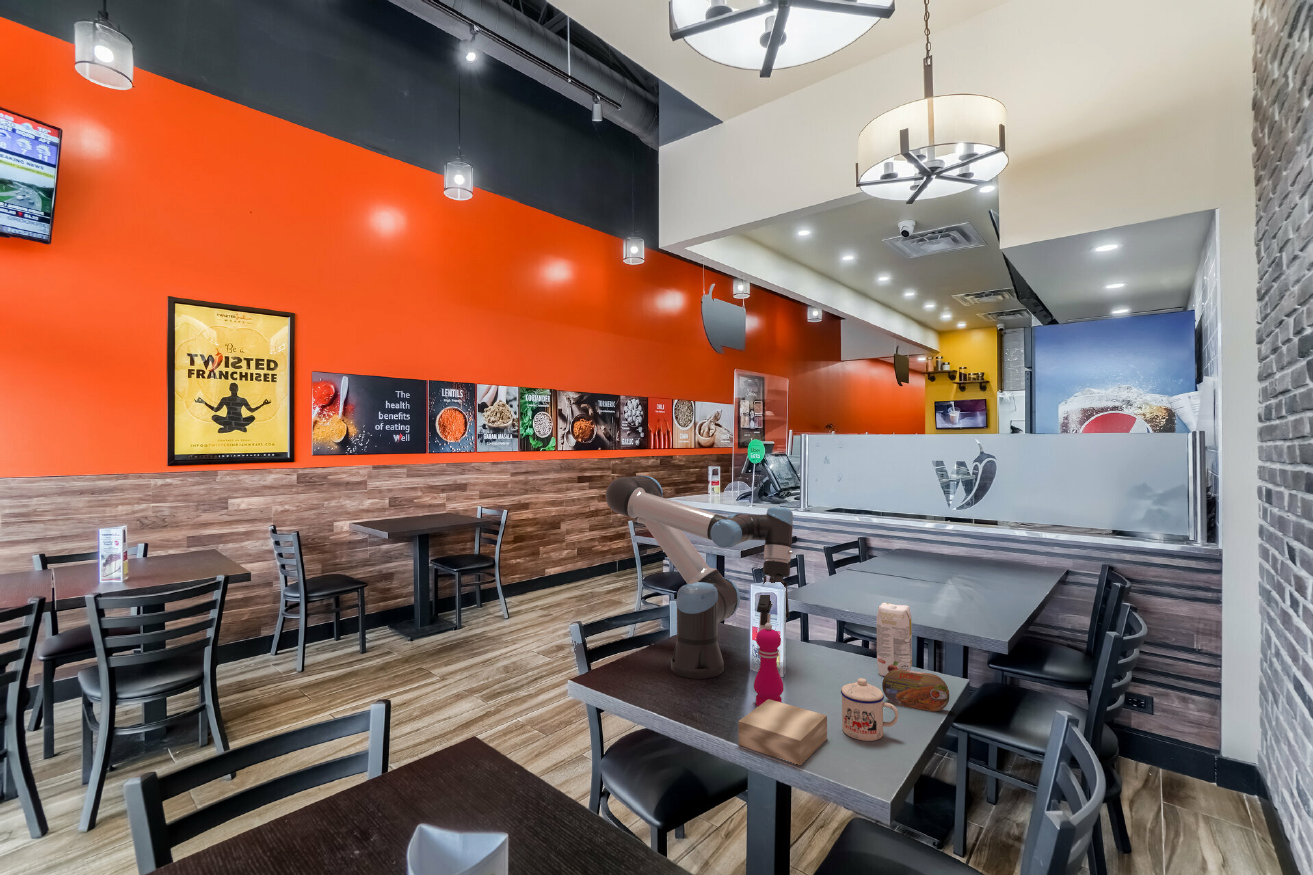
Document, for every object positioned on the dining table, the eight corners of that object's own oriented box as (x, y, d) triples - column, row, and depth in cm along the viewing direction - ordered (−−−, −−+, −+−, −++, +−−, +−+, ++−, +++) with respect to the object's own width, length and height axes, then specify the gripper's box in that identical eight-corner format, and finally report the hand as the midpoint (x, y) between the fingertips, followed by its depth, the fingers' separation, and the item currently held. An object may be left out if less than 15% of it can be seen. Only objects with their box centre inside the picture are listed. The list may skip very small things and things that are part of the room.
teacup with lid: (838, 736, 130) (837, 683, 131) (844, 719, 139) (843, 669, 139) (897, 748, 125) (896, 692, 125) (899, 730, 133) (899, 677, 134)
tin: (882, 702, 148) (881, 668, 148) (883, 697, 151) (883, 664, 151) (949, 715, 141) (949, 679, 141) (949, 710, 144) (949, 674, 144)
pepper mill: (784, 700, 149) (784, 619, 150) (782, 712, 142) (782, 628, 143) (755, 696, 151) (755, 617, 152) (752, 708, 144) (751, 625, 145)
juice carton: (908, 681, 161) (908, 611, 161) (875, 675, 165) (875, 606, 166) (913, 672, 167) (912, 605, 168) (881, 667, 172) (880, 600, 172)
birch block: (738, 744, 127) (738, 720, 127) (768, 720, 138) (768, 698, 138) (800, 765, 118) (800, 740, 118) (827, 738, 129) (826, 715, 130)
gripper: (775, 555, 158) (770, 639, 152) (802, 568, 178) (798, 642, 172) (749, 554, 162) (742, 636, 155) (778, 566, 182) (773, 639, 176)
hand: (772, 639), depth 164 cm, fingers open, 13 cm apart
